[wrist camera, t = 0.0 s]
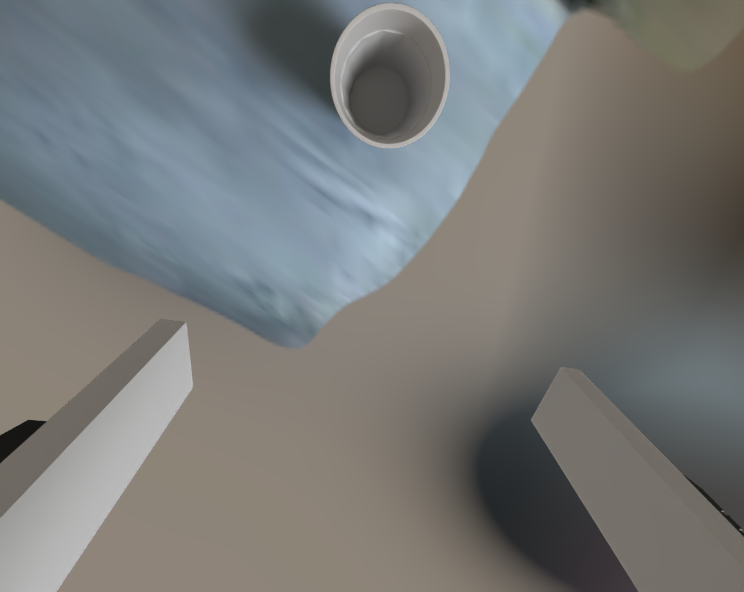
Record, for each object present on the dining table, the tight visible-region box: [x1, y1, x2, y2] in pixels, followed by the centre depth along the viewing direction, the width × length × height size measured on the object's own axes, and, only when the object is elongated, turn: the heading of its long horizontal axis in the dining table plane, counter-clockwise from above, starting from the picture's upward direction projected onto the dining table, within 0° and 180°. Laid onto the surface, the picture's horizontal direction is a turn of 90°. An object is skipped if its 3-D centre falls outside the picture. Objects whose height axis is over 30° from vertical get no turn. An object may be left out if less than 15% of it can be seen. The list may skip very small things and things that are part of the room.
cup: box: [330, 3, 450, 148], centre depth 26 cm, size 8×8×12 cm
